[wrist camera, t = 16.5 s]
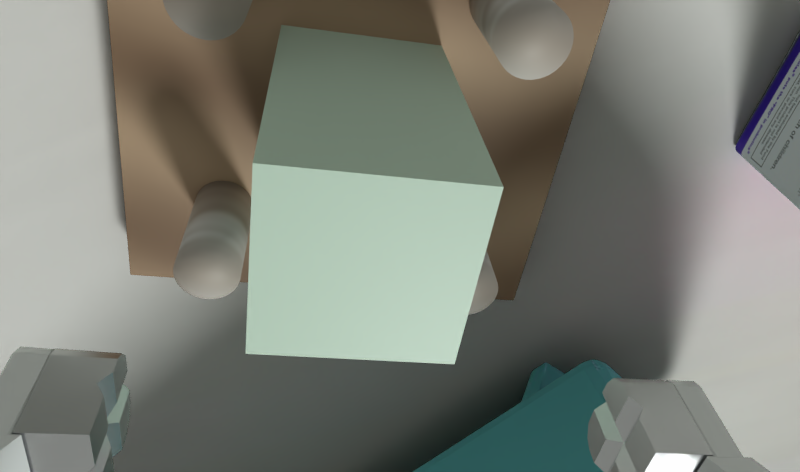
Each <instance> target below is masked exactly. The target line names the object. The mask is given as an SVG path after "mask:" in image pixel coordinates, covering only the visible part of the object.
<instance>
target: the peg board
mask: <svg viewBox="0 0 800 472" xmlns="http://www.w3.org/2000/svg"><path fill="white" fill-rule="evenodd" d="M609 3H610V0H107V5H108V17H109V29H110V40H111V52H112V64H113V75H114V87H115V99H116V110H117V122H118V134H119V145H120V157H121V169H122V181H123V192H124V204H125V216H126V227H127V239H128V251H129V262H130V274H131V275H144V276H159V277H174V278H175V280H176V282H177V284H178V285H179V286H180V287H181V288H182V289H183V290H184V291H186V292H187V293H189V294H190V295H193V296H195V297H198V298H203V299H217V298H221V297H224V296H227V295H229V294H230V293H232V292H233V291H234V290H235V289H236V288H237V286H238V285H239V282H248V273H249V246H250V219H251V192H252V165H253V159H254V154H255V149H256V144H257V139H258V135H259V130H260V125H261V120H262V115H263V111H264V106H265V101H266V96H267V91H268V87H269V82H270V77H271V72H272V67H273V63H274V58H275V53H276V48H277V43H278V39H279V34H280V29H281V25H287V26H295V27H302V28H310V29H318V30H325V31H333V32H341V33H349V34H356V35H364V36H372V37H379V38H387V39H395V40H403V41H410V42H418V43H426V44H433V45H441V46H442V48H443V50H444V52H445V54H446V57H447V59H448V61H449V64H450V66H451V68H452V70H453V73H454V75H455V77H456V80H457V82H458V84H459V86H460V89H461V91H462V93H463V95H464V98H465V100H466V102H467V105H468V107H469V109H470V111H471V114H472V116H473V118H474V121H475V123H476V125H477V127H478V130H479V132H480V134H481V136H482V139H483V141H484V143H485V146H486V148H487V150H488V152H489V155H490V157H491V159H492V162H493V164H494V166H495V168H496V171H497V173H498V175H499V177H500V180H501V182H502V184H503V187H504V188H503V192H502V195H501V199H500V202H499V206H498V210H497V213H496V217H495V220H494V224H493V228H492V231H491V235H490V238H489V242H488V246H487V249H486V253H485V256H484V260H483V264H482V267H481V271H480V274H479V278H478V282H477V285H476V289H475V292H474V296H473V300H472V303H471V307H470V310H469V314H468V315H470V314H475V313H478V312H480V311H482V310H484V309H486V308H487V307H488V306H489V305H491V303H492V302H493V301H494V300H495V299H500V300H514V297H515V294H516V291H517V288H518V285H519V282H520V279H521V276H522V273H523V270H524V266H525V263H526V260H527V257H528V254H529V251H530V248H531V245H532V242H533V238H534V235H535V232H536V229H537V226H538V223H539V220H540V217H541V214H542V211H543V207H544V204H545V201H546V198H547V195H548V192H549V189H550V186H551V183H552V180H553V176H554V173H555V170H556V167H557V164H558V161H559V158H560V155H561V152H562V148H563V145H564V142H565V139H566V136H567V133H568V130H569V127H570V124H571V121H572V117H573V114H574V111H575V108H576V105H577V102H578V99H579V96H580V93H581V89H582V86H583V83H584V80H585V77H586V74H587V71H588V68H589V65H590V62H591V58H592V55H593V52H594V49H595V46H596V43H597V40H598V37H599V34H600V30H601V27H602V24H603V21H604V18H605V15H606V12H607V9H608V6H609Z"/></svg>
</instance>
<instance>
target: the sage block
mask: <svg viewBox="0 0 800 472" xmlns="http://www.w3.org/2000/svg"><path fill="white" fill-rule="evenodd" d="M503 188H504V187H503V184H502V182H501V180H500V177H499V175H498V173H497V171H496V168H495V166H494V164H493V162H492V159H491V157H490V155H489V152H488V150H487V148H486V146H485V143H484V141H483V139H482V136H481V134H480V132H479V130H478V127H477V125H476V123H475V121H474V118H473V116H472V114H471V111H470V109H469V107H468V105H467V102H466V100H465V98H464V95H463V93H462V91H461V89H460V86H459V84H458V82H457V80H456V77H455V75H454V73H453V70H452V68H451V66H450V64H449V61H448V59H447V57H446V54H445V52H444V50H443V48H442V46H441V45H433V44H426V43H418V42H410V41H403V40H395V39H387V38H379V37H372V36H364V35H356V34H349V33H341V32H333V31H325V30H318V29H310V28H302V27H295V26H287V25H281V29H280V34H279V39H278V43H277V48H276V53H275V58H274V63H273V67H272V72H271V77H270V82H269V87H268V91H267V96H266V101H265V106H264V111H263V115H262V120H261V125H260V130H259V135H258V139H257V144H256V149H255V154H254V159H253V165H252V192H251V219H250V246H249V273H248V299H247V326H246V353H245V354H259V355H279V356H299V357H319V358H339V359H359V360H378V361H398V362H418V363H438V364H455V361H456V357H457V354H458V350H459V346H460V343H461V339H462V336H463V332H464V328H465V325H466V321H467V318H468V314H469V310H470V307H471V303H472V300H473V296H474V292H475V289H476V285H477V282H478V278H479V274H480V271H481V267H482V264H483V260H484V256H485V253H486V249H487V246H488V242H489V238H490V235H491V231H492V228H493V224H494V220H495V217H496V213H497V210H498V206H499V202H500V199H501V195H502V192H503Z"/></svg>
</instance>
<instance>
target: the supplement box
mask: <svg viewBox="0 0 800 472" xmlns="http://www.w3.org/2000/svg"><path fill="white" fill-rule="evenodd" d="M736 151H737V152H738V153H739V154H740V155H741V156H742V157H743V158H744V159H745V160H746V161H748V162H749V163H750V164H751V165H752V166H753V167H754V168H755V169H756V170H757V171H758V172H759V173H761V174H762V175H763V176H764V177H765V178H766V179H767V180H768V181H769V182H770V183H771V184H772V185H773V186H774V187H776V188H777V189H778V190H779V191H780V192H781V193H782V194H783V195H784V196H786V197H787V198H788V199H789V200H790V201H791V202H792V203H793V204H794V205H795V206H796V207H797V208H798V209H800V32H799V34H798V35H797V37H796V39H795V41H794V43H793V44H792V46H791V48H790V50H789V52H788V54H787V55H786V57H785V59H784V60H783V62H782V64H781V66H780V68H779V69H778V71H777V73H776V75H775V77H774V79H773V80H772V82H771V84H770V85H769V87H768V89H767V91H766V93H765V94H764V96H763V98H762V99H761V101H760V103H759V104H758V106H757V108H756V109H755V111H754V113H753V114H752V116H751V118H750V120H749V122H748V123H747V125H746V127H745V129H744V130H743V132H742V134H741V136H740V138H739V139H738V141H737V143H736Z"/></svg>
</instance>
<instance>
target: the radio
mask: <svg viewBox="0 0 800 472" xmlns="http://www.w3.org/2000/svg"><path fill="white" fill-rule="evenodd" d="M613 378H621V377H620V376H619V375H618V374H617V373H616V372H615V371H614V370H613V369H612V368H611V367H609V366H608V365H607V364H606V363H604V362H601V361H599V360H592V359H591V360H589V361H586V362H583V363H581V364H579V365H578V366H576V367H575V368H573V369H572V370H570V371H569V372H567V373H563V372H561V371H560V370H558V369H556V368H555V367H553V366H551V365H550V364H548V363H544V364H542V365H541V366H539V367H537V368H536V369H534V370H533V371H532V372H531V375H530V378H529V381H528V384H527V387H526V390H525V393H524V396H523V399H522V402H520V403H519V404H517V405H516V406H514V407H513V408H511V409H509V410H508V411H506V412H505V413H503V414H502V415H500V416H498V417H497V418H495V419H494V420H492V421H491V422H489V423H488V424H486V425H484V426H483V427H481V428H480V429H478V430H477V431H475V432H474V433H472V434H470V435H469V436H467V437H466V438H464V439H463V440H461V441H460V442H458V443H456V444H455V445H453V446H452V447H450V448H449V449H447V450H446V451H444V452H442V453H441V454H439V455H438V456H436V457H435V458H433V459H432V460H430V461H428V462H427V463H425V464H424V465H422V466H421V467H419V468H418V469H416V470H414V471H413V472H603V471H602V470H601V469H600V468H599V467H598V466H597V465H596V464H595V463H594V461H593V459H592V456H591V453H590V450H589V445H588V439H587V436H588V423H589V420H590V418H591V416H592V413H593V411H594V410H595V409H596V408H597V407H599V406H600V405H602V404H603V403H605V402H606V400H605V398H604V396H603V393H602V392H603V390H604V388H605V386H606V384H607V383H608V382H609V381H610V380H612V379H613Z"/></svg>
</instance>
